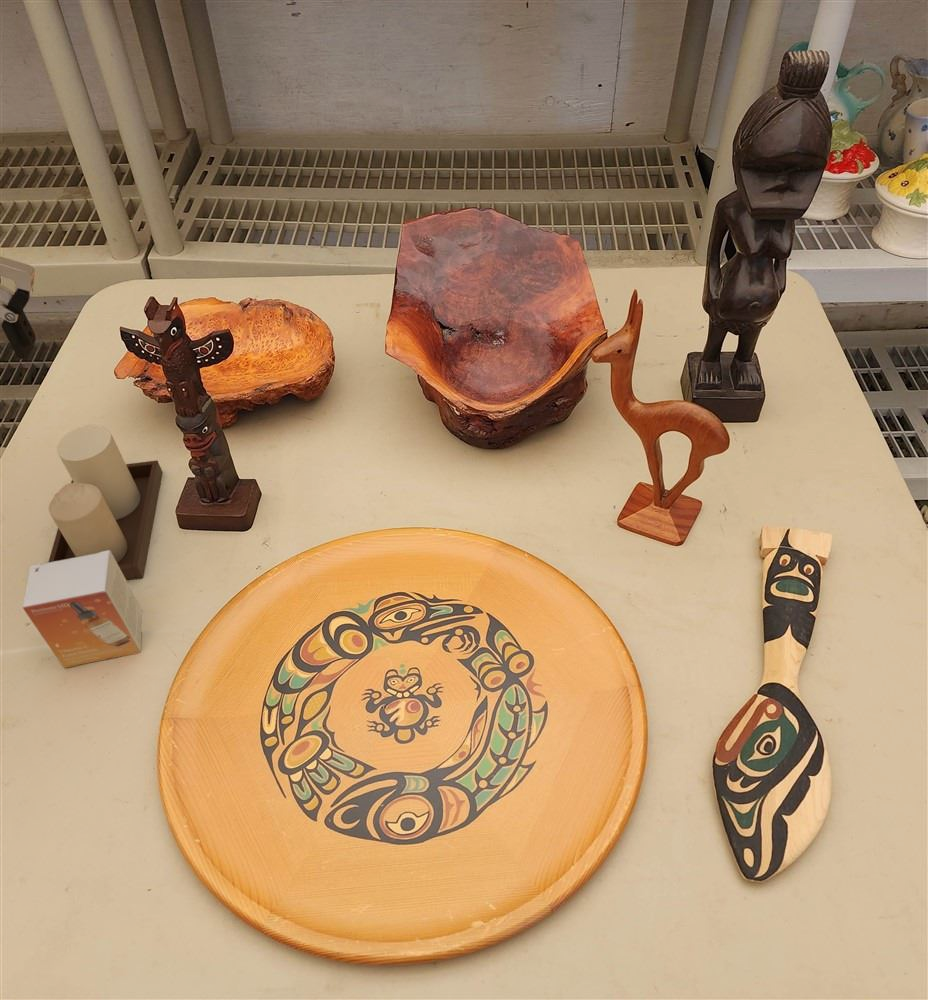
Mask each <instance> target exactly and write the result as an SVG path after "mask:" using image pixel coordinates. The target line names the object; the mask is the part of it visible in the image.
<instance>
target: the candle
mask: <svg viewBox="0 0 928 1000" xmlns="http://www.w3.org/2000/svg"><path fill="white" fill-rule="evenodd" d="M48 512H49V515H50V516H51V518H52V520H53V521H54V523H55V525H56V526H57V529H58V528H59V530H60V531H61V533H62V535H63V536H64V538H65V540H66V541H67V543H68V545H69V546H70V548H71V550H72V551H73V553H74V555H75V556H76V557H80V556H85V555H90V554H95V553H99V552H102V551H107V550H110V551H111V553H112V555H113V556H114V558H115V560H116V562H117V563H118V562H119V561H121V560H122V558H123V557H124V556H125V554H126V552H127V542H126V539H125V537H124V535H123V533H122V531H121V530H120V528H119V526H118V524H117V522H116V520H115V518H114V516H113V514H112V512H111V511H110V509H109V507H108V505H107V503H106V501H105V499H104V497H103V495H102V493H101V492H100V490H99V489H98V488H97V487H96V486H94V485H91V484H84V483H78V482H74V483H71V482H70V483H67V484H64V485H63V486H62V487H61V488H60V490H59V491H57V492H56V493H54V495H53V497H52V499H51V501H50V502H49V505H48Z"/></svg>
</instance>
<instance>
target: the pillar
mask: <svg viewBox="0 0 928 1000" xmlns="http://www.w3.org/2000/svg"><path fill="white" fill-rule="evenodd" d="M56 452H57V455H58V456H59V457H58V458H59V459H60V460H61V462H62V464H63V466H64V468H65V469H66V471H67V473H68V475H69V477H70V478H71V481H72V480H73V482H78V483H84V484H91V485H94V486H96V487H97V488H98V489H99V490H100V492H101V493H102V495H103V497H104V499H105V501H106V503H107V505H108V507H109V509H110V511H111V512H112V514H113V516H114V518H115V520H118V519H121V518H123V517H125V516H127V515H129V514H130V513H131V512H133V511H134V510H135V509H136V507H137V506H138V504H139V502H140V493H139V490H138V488H137V486H136V484H135V482H134V480H133V478H132V476H131V474H130V472H129V470H128V468H127V466H126V464H127V463H126V461H125V460H124V457H123V456H122V453H121V451H120V449H119V447H118V445H117V443H116V441H115V439H114V436H113V434H112V433H111V431H110V430H109V429H108V428H107V427H105V426H103V425H100V424H88V425H83V426H79V427H77V428H75V429H73V430H70V431H69V432H67V433H66V434H65V435H64V436H63V437H62V438H61V439H60V440H59V442H58V444H57V446H56Z"/></svg>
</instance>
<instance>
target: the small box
mask: <svg viewBox="0 0 928 1000" xmlns="http://www.w3.org/2000/svg"><path fill="white" fill-rule="evenodd" d="M48 562H49V561H48ZM48 562H44V563H43V562H42V563H36V564H31V565H29V570H28V576H27V581H26V585H25V592H24V597H23V604H22V609H23V611H24V613H25V614H26V616H28V618H29V620H30V621H31V623H32V624H33V626H34V627H35V628H36V630H37V631H38V633H39V634H40V636H41V637H42V639H43V640H44V641H45V643H46V644H47V646H48V647H49V649H50V651H51V652H52V653H53V654H54V656H55V657H56V659H57V660H58V662H59V664H60V665H61V666H62V667H63V668H64V669H66V668H70V667H75V666H79V665H84V664H88V663H93V662H98V661H103V660H109V659H113V658H118V657H123V656H129V655H136V654H140V653H141V649H142V636H143V632H142V623H143V609H142V607H141V605H140V604H139V601H138V599H137V598H136V596H135V593H134V591H133V590H132V588H131V586H130V584H129V582H128V581H126V579H125V577H124V575H123V573H122V571H121V570H120V568H119V566H118V564H117V562H116V560H115V558H114V556H113V555H112V553H111V551H110V550H107V551H102V552H99V553H95V554H90V555H85V556H80V557H75V558H70V559H65V560H59V561H54V562H49V563H48Z"/></svg>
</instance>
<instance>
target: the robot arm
mask: <svg viewBox="0 0 928 1000" xmlns="http://www.w3.org/2000/svg"><path fill="white" fill-rule="evenodd" d="M35 275H36V270H35V268H34V266H32V265H30V264H27V263H24V262H20V261H18V260H14V259H11V258H7V257H4V256H2V255H0V319H2V320H3V321H2V323H1V329H2V331H3V333H4V334H5V336H6V338H7V340H8V342H9V344H10V345H11V348H12V350H13V352H14V354H15V356H16V357H17V358H18V359H20V360H27V359H28V357H29V356H30V353H31V351H32V349H33V347H34V346H35V343H36V340H37V339H36V338H37V337H36V333H35V332H34V329H33V327H32V325H31V323H30V321H29V319H28V317H27V315H26V313H25V311H24V309H25V307H26V306H27V304H28V302H29V301H30V298H31V297H32V295H33V292H34V282H35ZM1 277H2V278H6V279H9V280H12V281H13V282H14V285H15V289H14V290H11V289H10V288H8V287H7V286H5V285H3V284H2V278H1Z"/></svg>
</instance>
